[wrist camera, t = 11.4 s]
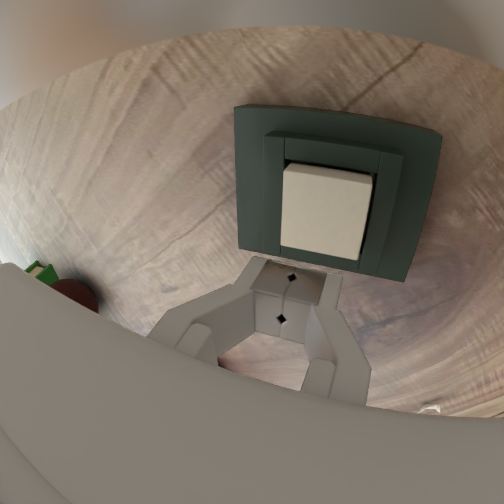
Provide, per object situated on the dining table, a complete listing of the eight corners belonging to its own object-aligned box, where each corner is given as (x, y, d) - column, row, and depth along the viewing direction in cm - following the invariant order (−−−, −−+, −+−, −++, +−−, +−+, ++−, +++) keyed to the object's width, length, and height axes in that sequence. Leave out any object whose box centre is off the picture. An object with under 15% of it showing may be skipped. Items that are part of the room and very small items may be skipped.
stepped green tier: (245, 104, 17) (221, 110, 14) (435, 130, 13) (450, 141, 11) (248, 235, 23) (229, 260, 20) (402, 266, 19) (405, 298, 16)
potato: (58, 265, 40) (20, 299, 32) (94, 268, 34) (47, 311, 27) (82, 307, 44) (49, 341, 37) (122, 317, 39) (84, 361, 31)
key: (290, 162, 15) (283, 170, 14) (372, 175, 14) (372, 184, 12) (287, 232, 17) (279, 245, 16) (358, 246, 16) (357, 261, 15)
